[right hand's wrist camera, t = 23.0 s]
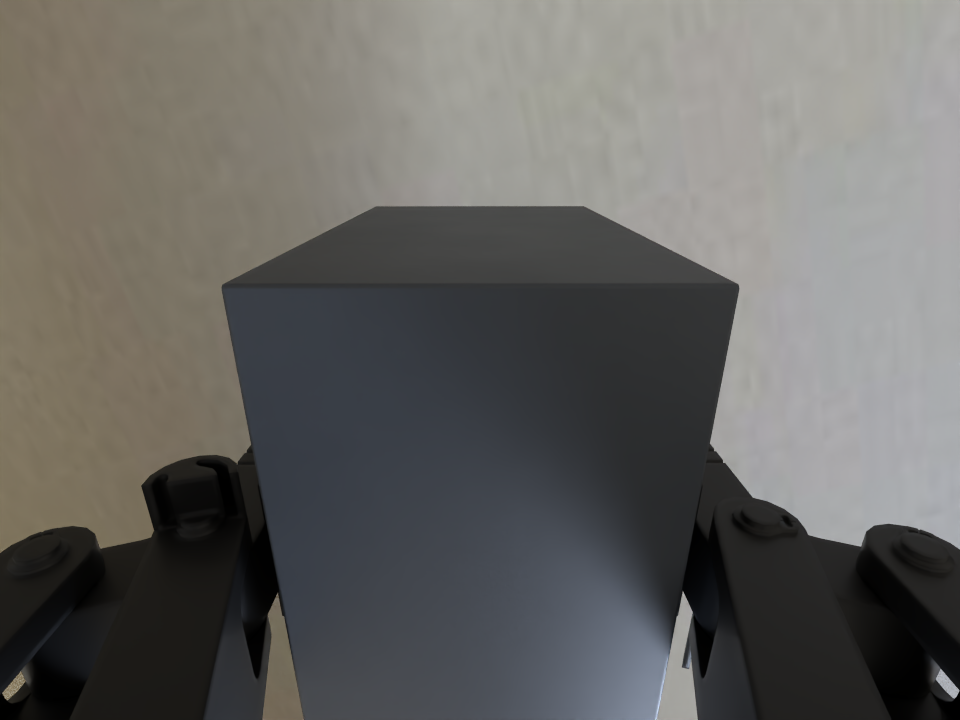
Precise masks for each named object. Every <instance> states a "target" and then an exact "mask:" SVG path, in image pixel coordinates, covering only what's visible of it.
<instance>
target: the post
mask: <svg viewBox="0 0 960 720" xmlns="http://www.w3.org/2000/svg"><path fill="white" fill-rule="evenodd" d="M738 293H739V285H738V284H737V283H735V282H733V281H731V280H729V279H727V278H725V277H723V276H721V275H719V274H717V273H715V272H713V271H711V270H709V269H707V268H705V267H703V266H701V265H699V264H697V263H695V262H693V261H691V260H689V259H687V258H685V257H683V256H681V255H679V254H677V253H675V252H673V251H671V250H669V249H667V248H665V247H663V246H661V245H659V244H657V243H655V242H653V241H651V240H649V239H647V238H646V237H644V236H642V235H640V234H638V233H636V232H634V231H632V230H630V229H628V228H626V227H624V226H622V225H620V224H618V223H616V222H614V221H612V220H610V219H608V218H606V217H604V216H602V215H600V214H598V213H596V212H594V211H592V210H590V209H588V208H586V207H584V206H417V207H374V208H372V209H370V210H368V211H366V212H364V213H362V214H360V215H358V216H356V217H354V218H353V219H351V220H349V221H347V222H345V223H343V224H341V225H339V226H337V227H335V228H333V229H331V230H329V231H327V232H325V233H323V234H321V235H319V236H317V237H315V238H313V239H311V240H309V241H307V242H305V243H303V244H301V245H299V246H297V247H295V248H294V249H292V250H290V251H288V252H286V253H284V254H282V255H280V256H278V257H276V258H274V259H272V260H270V261H268V262H266V263H264V264H262V265H260V266H258V267H256V268H254V269H252V270H250V271H248V272H246V273H244V274H242V275H240V276H238V277H236V278H235V279H233V280H231V281H229V282H227V283H225V284H223V285H222V294H223V299H224V304H225V309H226V315H227V320H228V325H229V330H230V335H231V341H232V346H233V351H234V356H235V362H236V367H237V372H238V377H239V382H240V388H241V393H242V398H243V403H244V409H245V414H246V419H247V424H248V430H249V435H250V440H251V445H252V450H253V456H254V461H255V466H256V471H257V477H258V482H259V487H260V492H261V497H262V503H263V508H264V513H265V518H266V524H267V529H268V534H269V539H270V544H271V550H272V555H273V560H274V565H275V571H276V576H277V581H278V586H279V592H280V597H281V602H282V607H283V612H284V618H285V623H286V628H287V633H288V639H289V644H290V649H291V654H292V659H293V665H294V670H295V675H296V680H297V686H298V691H299V696H300V701H301V707H302V712H303V717H304V720H657V716H658V711H659V706H660V701H661V695H662V690H663V685H664V680H665V674H666V669H667V664H668V659H669V654H670V648H671V643H672V638H673V633H674V627H675V622H676V617H677V612H678V606H679V601H680V596H681V591H682V586H683V580H684V575H685V570H686V565H687V559H688V554H689V549H690V544H691V538H692V533H693V528H694V523H695V518H696V512H697V507H698V502H699V497H700V491H701V486H702V481H703V476H704V471H705V465H706V460H707V455H708V450H709V444H710V439H711V434H712V429H713V423H714V418H715V413H716V408H717V403H718V397H719V392H720V387H721V382H722V376H723V371H724V366H725V361H726V355H727V350H728V345H729V340H730V335H731V329H732V324H733V319H734V314H735V308H736V303H737V298H738Z"/></svg>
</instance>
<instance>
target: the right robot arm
mask: <svg viewBox="0 0 960 720" xmlns="http://www.w3.org/2000/svg"><path fill="white" fill-rule="evenodd" d="M141 487H142V490H143V493H144V497H145V500H146V504H147V507H148V510H149V514H150V517H151V521H152V524H153V528H154V532H153V535H152V537H151V538H148V539H145V540H141V541H136V542H131V543H126V544H122V545H117V546H112V547H107V548H102V549H100V547H99V544H98V541H97V539H96V536H95V534H94V533H93V532H92V531H90V530H89V529H88V528H84V527H76V526H70V527H62V528H55V529H50V530H46V531H44V532H39V533H36V534H34V535H31V536H29V537H27V538H26V539H24V540H22V541H19V542H17V543H15V544H13V545H11V546H10V547H8V548H7V549H5V550H4V551H3V552H1V553H0V720H262V716H263V707H264V698H265V689H266V680H267V671H268V661H269V652H270V643H271V630H270V624H269V619H268V612H269V610H270V608H271V606H272V604H273V602H274V599H275V597H276V595H277V593H278V595H279V600H280V605H281V611H282V616H284V612H283V607H282V602H281V597H280V592H279V586H278V581H277V576H276V571H275V565H274V560H273V555H272V550H271V544H270V539H269V534H268V529H267V524H266V518H265V513H264V508H263V503H262V497H261V492H260V487H259V482H258V477H257V471H256V466H255V461H254V456H253V450H252V445H251V446H250V447H249V448H248V450H247V453H244V455H243V456H242V457H241V459H240V460H239V461H238V465H237V464H236V463H235V462H234V461H232V460H231V459H230V458H227V457H223V456H218V455H208V456H197V457H192V458H188V459H183V460H180V461H178V462H175V463H173V464H170V465H167V466H165V467H163V468H162V469H160V470H158V471H157V472H155V473H154V474H152V475H151V476H149V478H148V479H147V480H146V481H145V482H144V483H143V484H142V485H141ZM682 592H684V594H685V596H686V598H687V600H688V603H689V605H690V607H691V609H692V611H693V614H692V619H691V624H690V628H689V633H688V638H687V643H686V648H685V653H684V658H683V664H682V667H683V668H687V669H689V667H690V662H691V660H692V669H693V678H694V687H695V697H696V706H697V715H698V720H960V691H959V693H958V695H957V697H956V698H955V699H954V698H952V697H951V696H950V695H949V694H948V693H947V692H946V691H945V690H944V689H943V688H942V687H941V686H940V684H939V683H938V682H937V681H936V677H937V675H938V673H939V671H940V669H942V670H943V672H944V673H945V674H946V675H947V676H948V677H949V679H950V680H951V681H952V682H953V683H954V684H955V686H956V687H957V688H958V689H959V690H960V550H959V549H958V548H956V547H955V546H954V545H952V544H951V543H949V542H947V541H945V540H943V539H940V538H938V537H936V536H934V535H933V534H931V533H929V532H926V531H923V530H918V529H917V528H912V527H908V526H901V525H893V524H884V525H876V526H873V527H872V528H871V529H869V530H868V531H867V532H866V534H865V537H864V540H863V543H862V546H861V547H859V546H854V545H850V544H845V543H840V542H835V541H830V540H825V539H821V538H817V537H813V536H809V535H808V534H807V532H806V530H805V528H804V527H803V526H802V524H801V523H800V522H799V520H798V519H797V518H795V517H794V516H793V515H791V514H790V513H789V512H787V511H786V510H785V509H783V508H781V507H778V506H776V505H774V504H772V503H770V502H767V501H763V500H759V499H755V498H752V496H751V495H750V494H749V492H748V491H747V490H746V489H745V487H744V486H743V485H742V484H741V482H740V481H739V480H738V479H737V477H736V476H735V475H734V474H733V472H732V471H731V470H730V469H729V467H728V466H727V465H726V463H723V460H722V458H721V457H720V456H719V455H718V453H717V452H716V451H714V448H713V447H712V446H711V445H710V444H709V450H708V455H707V460H706V465H705V471H704V476H703V481H702V486H701V491H700V497H699V502H698V507H697V512H696V518H695V523H694V528H693V533H692V538H691V544H690V549H689V554H688V559H687V565H686V570H685V575H684V580H683V586H682V591H681V596H680V601H679V606H678V612H679V607H680V602H681V597H682ZM678 612H677V616H678ZM20 671H21V672H22V674H23V676H24V678H25V680H26V682H25V683H24V684H23V685H22V687H21V688H20V689H19V690H18V692H17V693H16V694H14V695H13V696H12V697H11V698H10V699H9V700H8V701H7V700H6V699H5V698H4V696H3V694H2V692H3V691H4V690H5V689H6V688H7V687H8V685H9V684H10V683H11V682H12V681H13V680H14V678H15V677H16V676H17V675H18V674H19V673H20Z"/></svg>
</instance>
